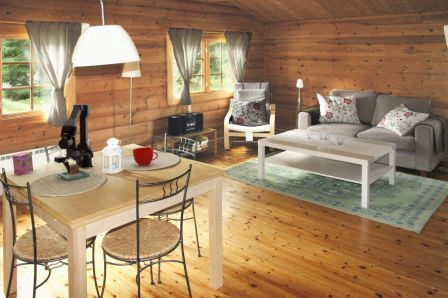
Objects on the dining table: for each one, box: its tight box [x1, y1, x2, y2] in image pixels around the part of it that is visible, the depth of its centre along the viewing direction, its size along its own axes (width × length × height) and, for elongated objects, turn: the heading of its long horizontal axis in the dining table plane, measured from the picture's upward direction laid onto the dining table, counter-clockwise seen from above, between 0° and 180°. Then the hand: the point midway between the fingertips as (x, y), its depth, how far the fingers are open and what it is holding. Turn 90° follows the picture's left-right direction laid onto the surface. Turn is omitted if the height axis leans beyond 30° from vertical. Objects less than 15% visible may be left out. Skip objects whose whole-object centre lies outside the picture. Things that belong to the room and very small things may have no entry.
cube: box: [66, 163, 80, 175], centre depth 246 cm, size 5×5×5 cm
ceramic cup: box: [132, 146, 159, 166], centre depth 270 cm, size 13×17×10 cm
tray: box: [57, 168, 90, 182], centre depth 246 cm, size 13×13×2 cm
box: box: [12, 151, 34, 176], centre depth 254 cm, size 10×6×12 cm, turn 168°
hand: (73, 171), depth 246 cm, fingers closed on cube, 5 cm apart
